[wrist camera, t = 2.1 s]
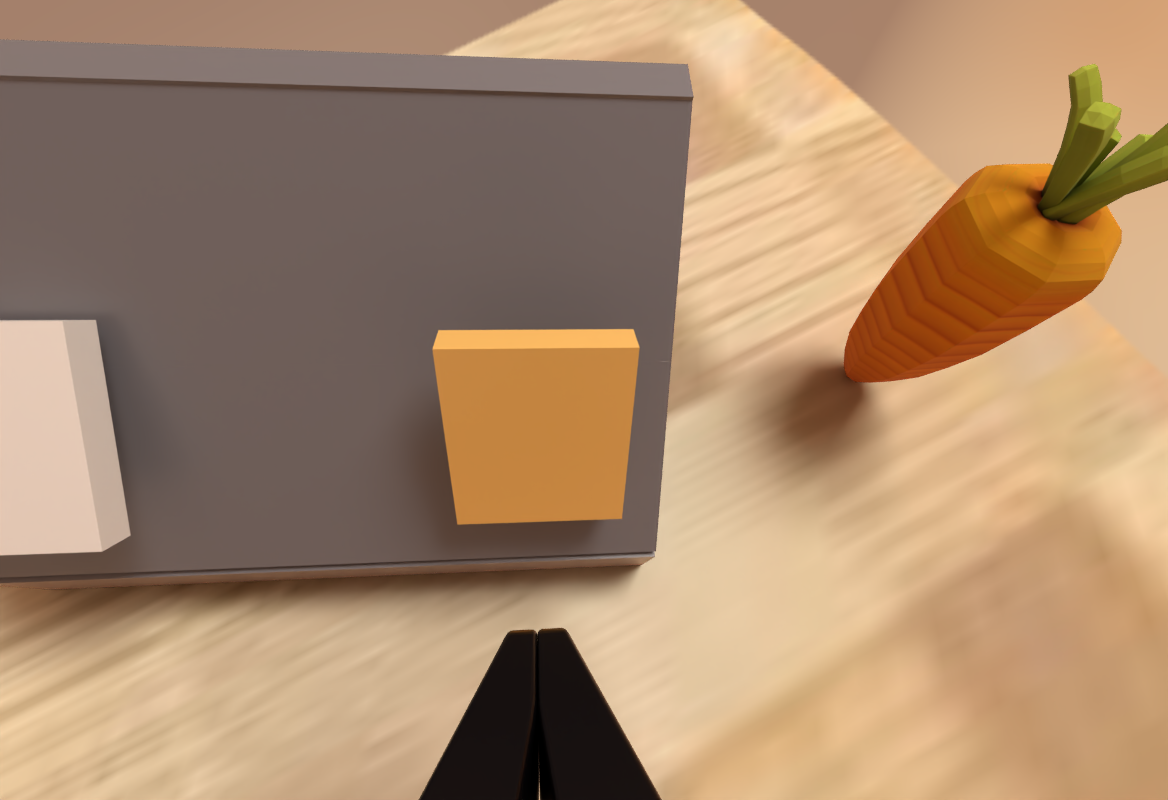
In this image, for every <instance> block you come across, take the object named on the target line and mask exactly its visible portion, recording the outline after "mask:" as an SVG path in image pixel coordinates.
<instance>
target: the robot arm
mask: <svg viewBox="0 0 1168 800" xmlns="http://www.w3.org/2000/svg"><path fill="white" fill-rule="evenodd" d="M539 783H540V800H662V799H661V798H660V796H659V794H658V792H657V791H656V789H655V787H654V785H653V783H652V782H651V780H650V778H649V776H648V774H647V773H646V771H645V769H644V767H643V765H642V764H641V762H640V760H639V758H638V757H637V755H636V753H635V751H634V749H633V748H632V746H631V744H630V742H629V740H628V739H627V737H626V735H625V733H624V731H623V730H622V728H621V726H620V724H619V722H618V721H617V719H616V717H615V715H614V714H613V712H612V710H611V708H610V706H609V705H608V703H607V701H606V699H605V697H604V696H603V694H602V692H601V690H600V688H599V687H598V685H597V683H596V681H595V679H594V678H593V676H592V674H591V672H590V671H589V669H588V667H587V665H586V663H585V662H584V660H583V658H582V656H581V654H580V653H579V651H578V649H577V647H576V645H575V644H574V642H573V640H572V638H571V637H570V635H569V633H568V632H567V630H566V629H564V628H552V629H541V630H539V632H538V634H537V633H536V631H534V630H514V631H510V632H509V633H508V634H507V635H506V636H505V638H504V640H503V642H502V644H501V646H500V648H499V649H498V651H497V653H496V655H495V657H494V659H493V661H492V663H491V665H490V666H489V668H488V670H487V672H486V674H485V676H484V678H483V680H482V681H481V683H480V685H479V687H478V689H477V691H476V693H475V695H474V697H473V698H472V700H471V702H470V704H469V706H468V708H467V710H466V712H465V713H464V715H463V717H462V719H461V721H460V723H459V725H458V727H457V729H456V730H455V732H454V734H453V736H452V738H451V740H450V742H449V744H448V746H447V747H446V749H445V751H444V753H443V755H442V757H441V759H440V761H439V762H438V764H437V766H436V768H435V770H434V772H433V774H432V776H431V778H430V779H429V781H428V783H427V785H426V787H425V789H424V791H423V793H422V795H421V796H420V798H419V800H539Z"/></svg>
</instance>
